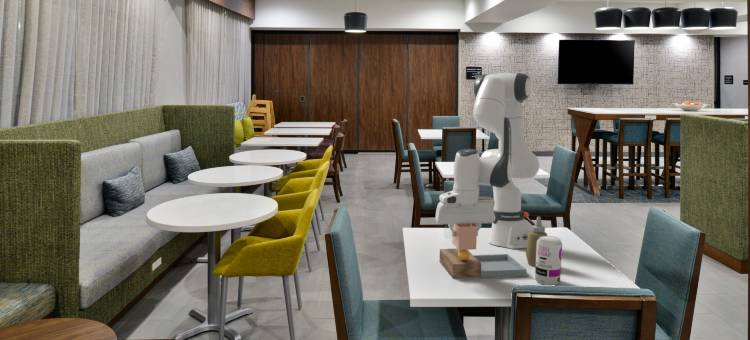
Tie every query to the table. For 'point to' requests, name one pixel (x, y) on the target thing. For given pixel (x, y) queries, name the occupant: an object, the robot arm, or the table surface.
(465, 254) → the ball
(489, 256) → the tray
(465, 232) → the sleeve
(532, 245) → the squeeze bottle
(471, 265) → the wooden block
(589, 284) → the table surface
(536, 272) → the supplement can
